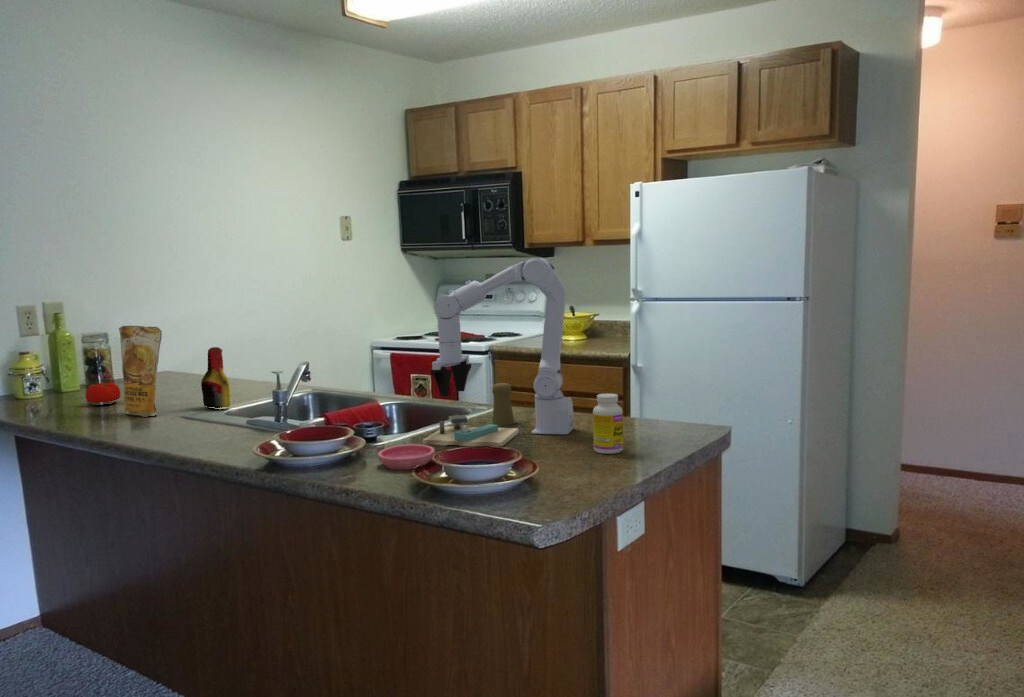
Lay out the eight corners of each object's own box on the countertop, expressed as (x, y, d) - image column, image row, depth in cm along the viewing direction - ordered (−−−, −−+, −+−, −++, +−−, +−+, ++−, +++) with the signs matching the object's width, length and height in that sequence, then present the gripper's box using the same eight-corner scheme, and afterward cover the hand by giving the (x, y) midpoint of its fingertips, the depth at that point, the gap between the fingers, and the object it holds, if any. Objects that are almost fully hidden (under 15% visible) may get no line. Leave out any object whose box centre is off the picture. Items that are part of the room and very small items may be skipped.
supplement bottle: (615, 456, 168) (614, 398, 166) (588, 453, 171) (587, 396, 170) (628, 449, 173) (626, 393, 172) (601, 446, 177) (600, 391, 175)
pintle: (469, 438, 185) (469, 425, 184) (467, 439, 183) (467, 426, 183) (464, 438, 185) (463, 425, 185) (462, 439, 184) (461, 426, 183)
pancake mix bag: (136, 410, 249) (128, 324, 245) (171, 414, 238) (163, 325, 235) (116, 414, 243) (108, 326, 240) (151, 418, 233) (142, 327, 229)
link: (466, 441, 181) (466, 434, 181) (454, 439, 184) (454, 432, 184) (499, 430, 192) (499, 423, 192) (487, 429, 194) (487, 422, 194)
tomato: (98, 408, 255) (95, 386, 254) (80, 406, 261) (78, 384, 260) (128, 403, 264) (126, 381, 263) (111, 401, 270) (109, 380, 269)
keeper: (468, 435, 193) (467, 418, 192) (440, 438, 191) (439, 420, 191) (464, 431, 198) (463, 414, 198) (437, 433, 197) (436, 416, 196)
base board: (518, 433, 194) (518, 428, 194) (501, 447, 180) (500, 442, 180) (445, 430, 200) (445, 426, 200) (422, 444, 185) (422, 439, 185)
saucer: (404, 475, 160) (403, 461, 159) (366, 466, 168) (366, 453, 167) (446, 462, 169) (446, 448, 168) (409, 454, 177) (408, 441, 177)
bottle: (237, 408, 244) (232, 346, 242) (219, 412, 239) (213, 349, 237) (217, 405, 252) (212, 345, 249) (199, 409, 247) (193, 347, 244)
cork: (511, 425, 203) (510, 385, 202) (489, 425, 204) (488, 385, 203) (516, 420, 209) (514, 381, 208) (494, 420, 210) (493, 381, 209)
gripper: (452, 338, 205) (454, 388, 207) (421, 344, 193) (424, 397, 194) (474, 338, 202) (477, 389, 203) (444, 345, 189) (447, 398, 191)
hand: (452, 393), depth 199 cm, fingers open, 7 cm apart
